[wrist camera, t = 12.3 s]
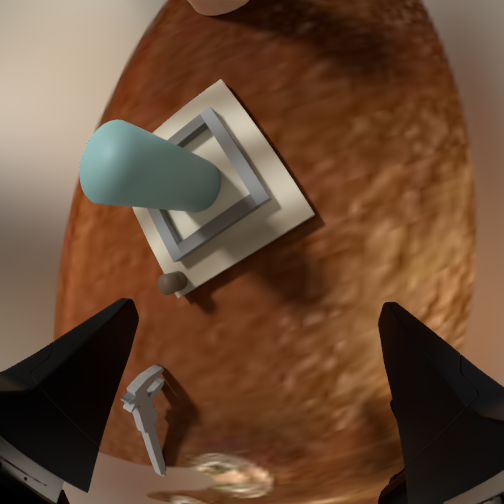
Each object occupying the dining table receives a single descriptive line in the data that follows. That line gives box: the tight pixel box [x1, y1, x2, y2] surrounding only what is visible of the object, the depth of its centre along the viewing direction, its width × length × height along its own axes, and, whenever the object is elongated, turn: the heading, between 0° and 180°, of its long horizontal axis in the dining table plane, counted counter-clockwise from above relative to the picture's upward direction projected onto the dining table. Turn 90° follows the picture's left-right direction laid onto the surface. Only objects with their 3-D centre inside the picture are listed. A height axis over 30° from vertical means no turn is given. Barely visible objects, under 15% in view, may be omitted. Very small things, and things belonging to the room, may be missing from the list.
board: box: [132, 79, 315, 298], centre depth 21 cm, size 14×13×3 cm
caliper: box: [120, 364, 167, 476], centre depth 24 cm, size 20×1×6 cm, turn 171°
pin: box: [80, 120, 221, 212], centre depth 17 cm, size 4×4×10 cm
